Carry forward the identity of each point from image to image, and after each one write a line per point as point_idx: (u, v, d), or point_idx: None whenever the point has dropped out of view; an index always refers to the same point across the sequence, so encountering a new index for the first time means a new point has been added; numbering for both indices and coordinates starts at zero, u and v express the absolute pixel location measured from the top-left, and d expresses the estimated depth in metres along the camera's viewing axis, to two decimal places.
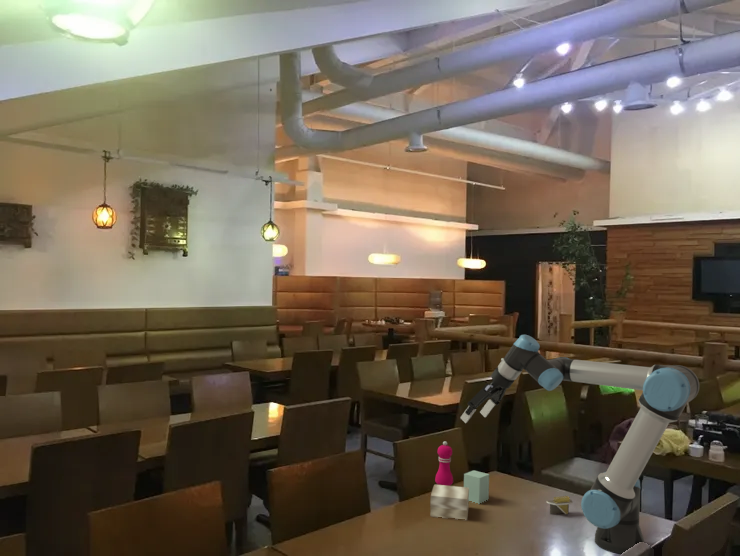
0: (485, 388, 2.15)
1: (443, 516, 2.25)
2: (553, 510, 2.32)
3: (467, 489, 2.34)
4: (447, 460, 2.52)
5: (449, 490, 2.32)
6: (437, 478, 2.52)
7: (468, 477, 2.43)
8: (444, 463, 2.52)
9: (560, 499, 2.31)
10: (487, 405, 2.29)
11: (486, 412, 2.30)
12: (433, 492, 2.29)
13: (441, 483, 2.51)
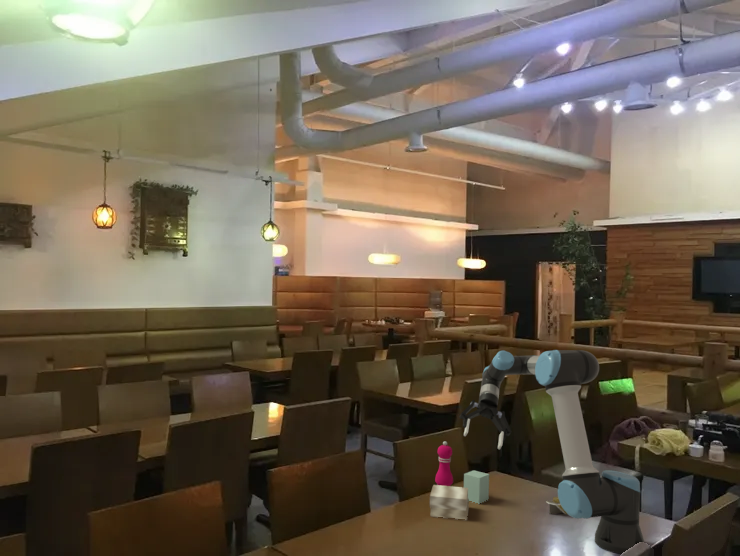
0: (470, 404, 2.47)
1: (443, 516, 2.25)
2: (552, 510, 2.32)
3: (466, 489, 2.34)
4: (447, 460, 2.52)
5: (448, 490, 2.32)
6: (437, 478, 2.52)
7: (468, 477, 2.43)
8: (444, 463, 2.52)
9: None
10: (499, 438, 2.39)
11: (500, 441, 2.36)
12: (432, 492, 2.29)
13: (441, 483, 2.51)
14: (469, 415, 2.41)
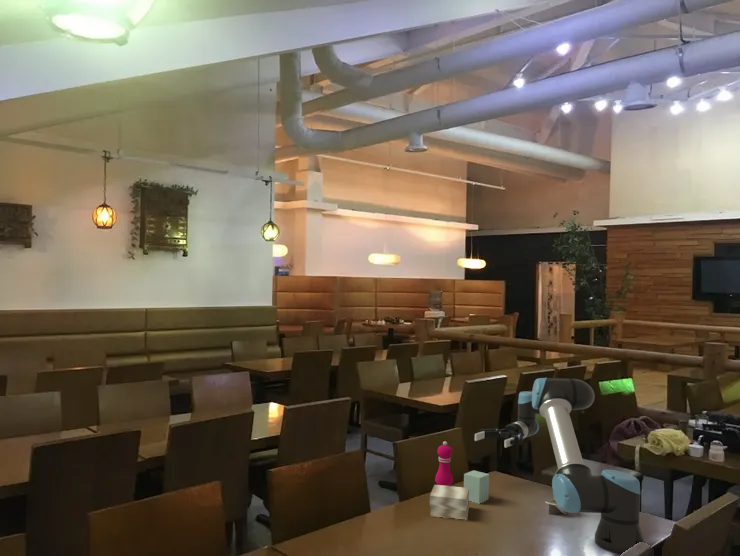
0: None
1: (443, 516, 2.25)
2: (552, 510, 2.32)
3: (467, 489, 2.34)
4: (447, 460, 2.52)
5: (449, 490, 2.32)
6: (437, 478, 2.52)
7: (468, 477, 2.43)
8: (444, 463, 2.52)
9: None
10: None
11: None
12: (432, 492, 2.29)
13: (441, 483, 2.51)
14: (485, 431, 2.63)
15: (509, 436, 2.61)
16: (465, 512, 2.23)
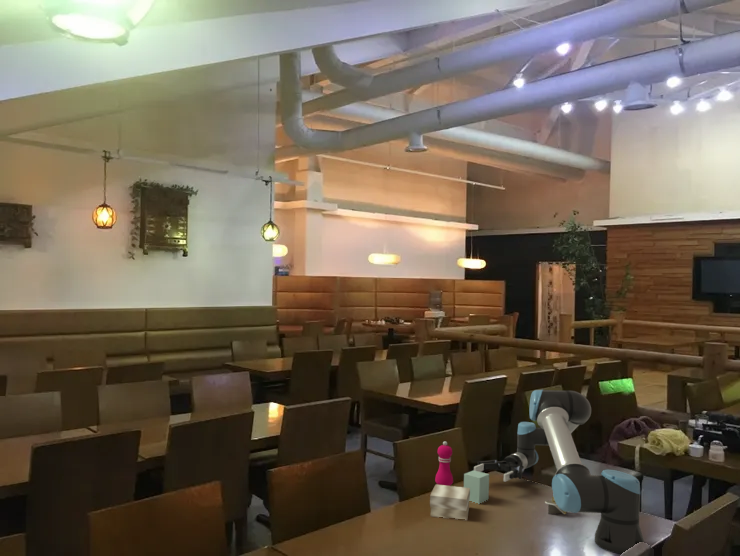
0: None
1: (443, 516, 2.25)
2: (551, 510, 2.32)
3: (468, 489, 2.33)
4: (447, 460, 2.52)
5: (449, 490, 2.32)
6: (437, 478, 2.52)
7: (468, 477, 2.43)
8: (444, 463, 2.52)
9: None
10: None
11: None
12: (433, 492, 2.30)
13: (441, 483, 2.51)
14: (485, 463, 2.63)
15: (508, 468, 2.60)
16: (465, 512, 2.23)
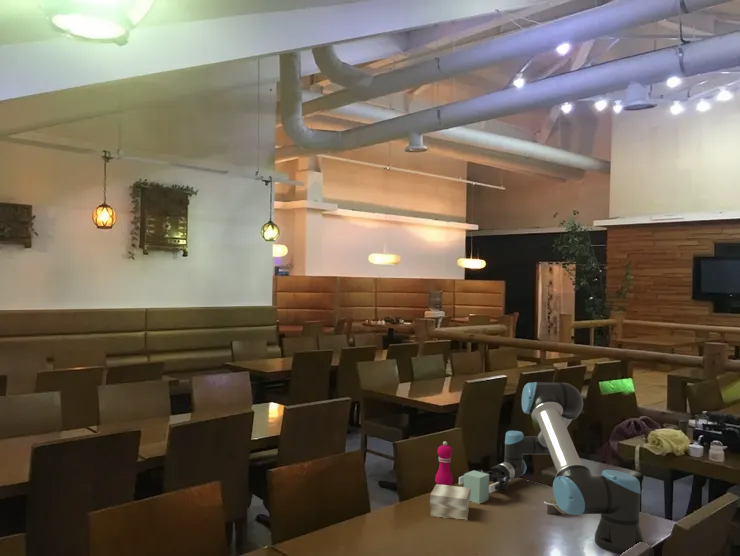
0: None
1: (443, 516, 2.25)
2: (550, 510, 2.32)
3: (468, 489, 2.33)
4: (447, 460, 2.52)
5: (450, 490, 2.32)
6: (437, 478, 2.52)
7: (468, 477, 2.43)
8: (444, 463, 2.52)
9: None
10: None
11: None
12: (433, 491, 2.30)
13: (441, 483, 2.51)
14: None
15: (494, 479, 2.52)
16: (465, 512, 2.23)
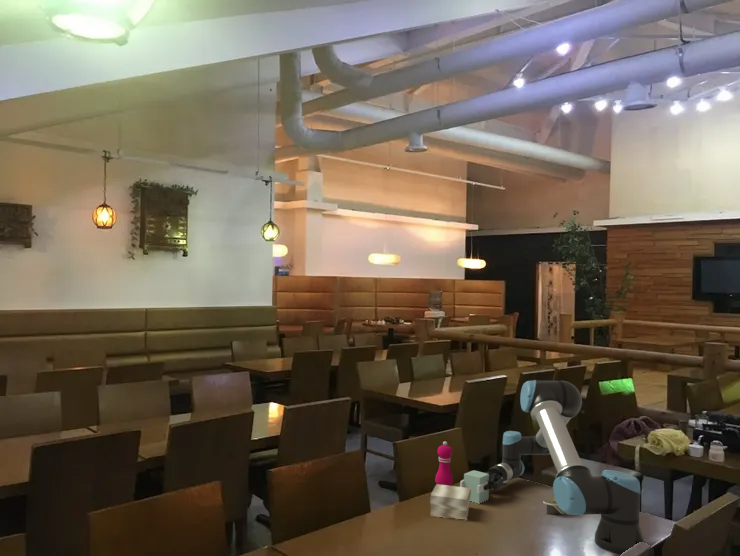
0: None
1: (443, 516, 2.25)
2: (549, 510, 2.32)
3: (469, 489, 2.33)
4: (447, 460, 2.52)
5: (450, 490, 2.32)
6: (437, 478, 2.52)
7: (468, 477, 2.43)
8: (444, 463, 2.52)
9: None
10: None
11: None
12: (433, 492, 2.30)
13: (441, 483, 2.51)
14: None
15: None
16: (465, 512, 2.23)
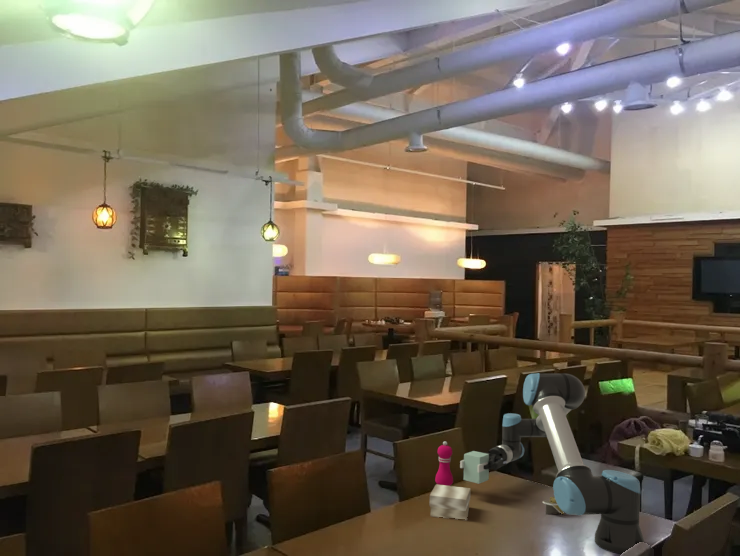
0: None
1: (443, 516, 2.25)
2: (549, 510, 2.32)
3: (468, 490, 2.33)
4: (447, 460, 2.52)
5: (449, 490, 2.32)
6: (437, 478, 2.52)
7: (468, 457, 2.44)
8: (444, 463, 2.52)
9: None
10: None
11: None
12: (433, 492, 2.30)
13: (441, 483, 2.51)
14: None
15: None
16: (465, 512, 2.23)
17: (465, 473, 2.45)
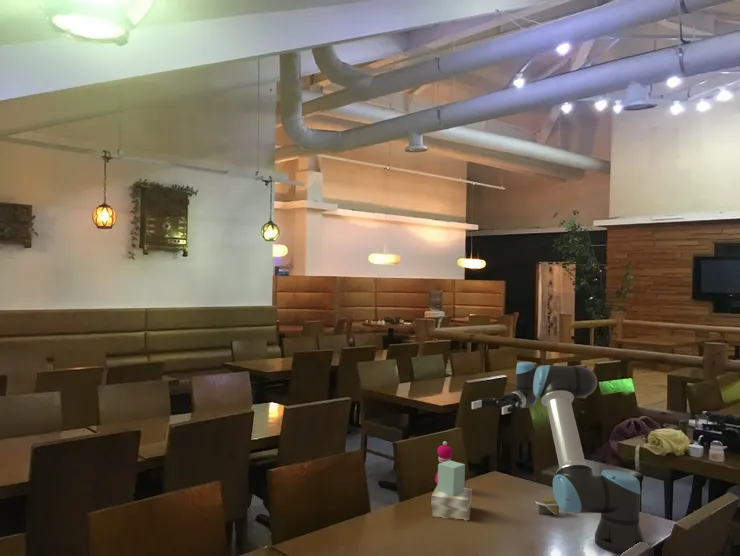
0: None
1: (445, 516, 2.25)
2: (542, 510, 2.31)
3: (470, 490, 2.33)
4: (447, 460, 2.52)
5: None
6: (437, 478, 2.52)
7: (442, 467, 2.30)
8: None
9: (549, 499, 2.30)
10: None
11: None
12: (434, 492, 2.29)
13: None
14: (483, 400, 2.59)
15: (507, 405, 2.56)
16: (467, 512, 2.23)
17: (439, 484, 2.31)
